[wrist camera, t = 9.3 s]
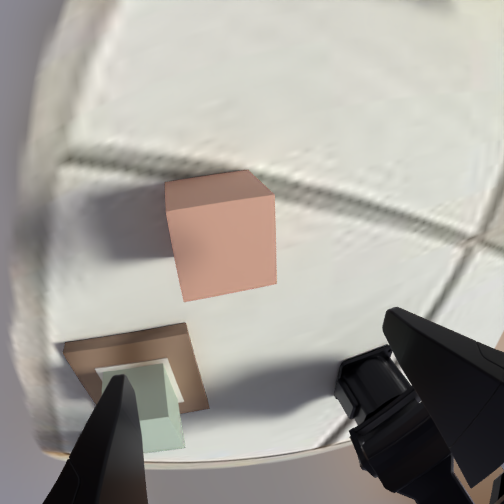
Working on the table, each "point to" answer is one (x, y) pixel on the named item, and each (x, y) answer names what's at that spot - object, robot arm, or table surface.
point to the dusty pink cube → (221, 233)
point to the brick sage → (154, 407)
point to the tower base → (141, 361)
